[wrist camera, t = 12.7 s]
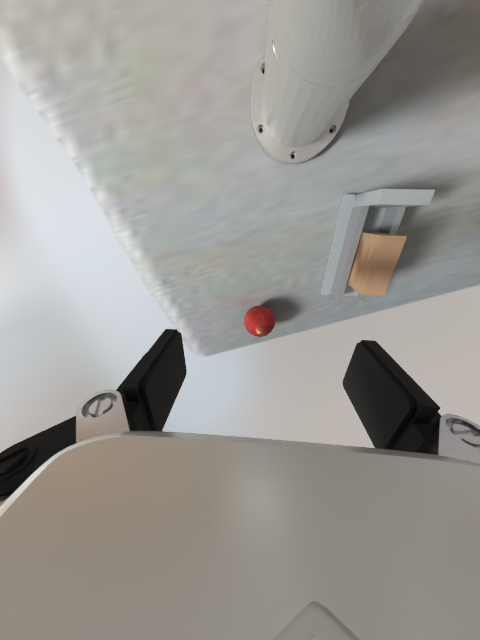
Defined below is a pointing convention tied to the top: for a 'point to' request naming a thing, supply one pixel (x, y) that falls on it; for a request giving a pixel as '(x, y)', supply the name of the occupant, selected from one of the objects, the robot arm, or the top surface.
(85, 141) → the top surface
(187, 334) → the top surface
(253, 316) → the onion
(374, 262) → the door slab
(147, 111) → the top surface
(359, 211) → the track
